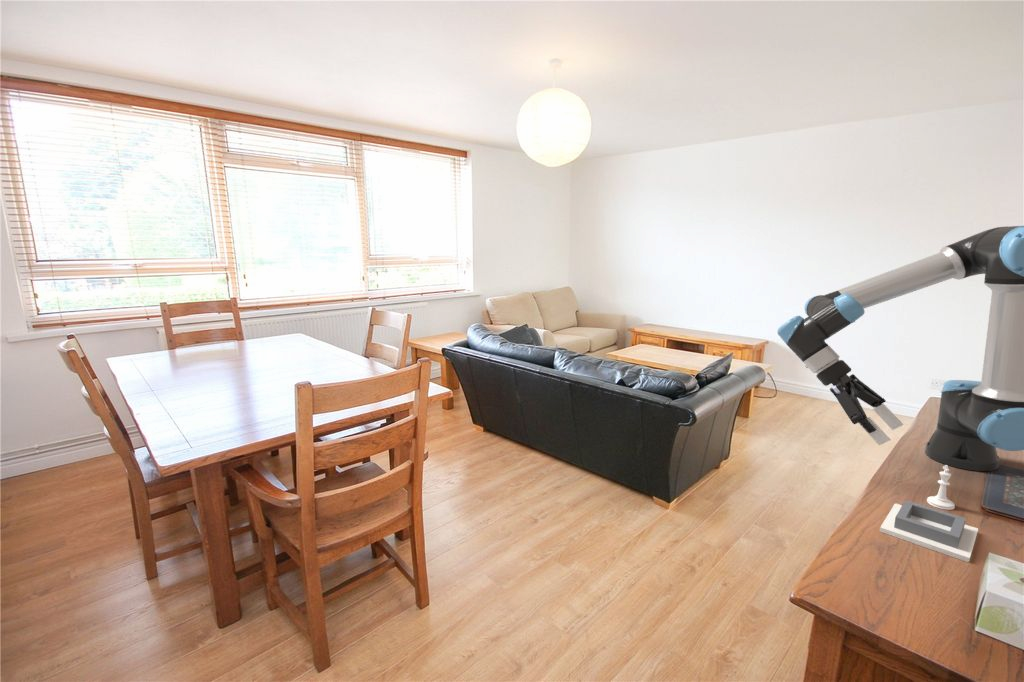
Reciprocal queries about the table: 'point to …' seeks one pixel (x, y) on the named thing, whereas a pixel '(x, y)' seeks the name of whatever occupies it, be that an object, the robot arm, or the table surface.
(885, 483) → the table surface
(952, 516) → the socket board
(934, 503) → the chess piece
